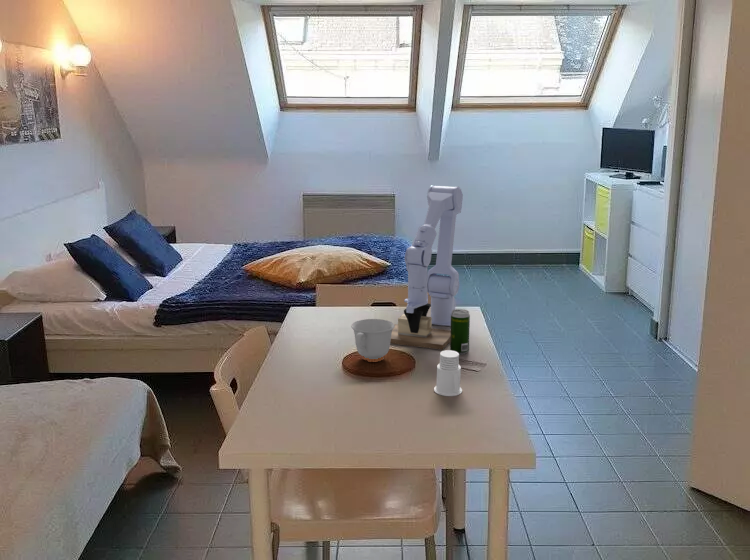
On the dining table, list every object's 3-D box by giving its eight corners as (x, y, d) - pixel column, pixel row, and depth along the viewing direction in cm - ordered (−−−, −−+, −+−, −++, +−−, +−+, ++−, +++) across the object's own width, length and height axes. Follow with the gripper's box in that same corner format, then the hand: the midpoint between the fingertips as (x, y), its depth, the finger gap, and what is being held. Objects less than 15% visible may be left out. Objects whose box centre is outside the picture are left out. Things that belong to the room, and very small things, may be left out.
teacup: (338, 365, 198) (337, 330, 195) (364, 349, 210) (364, 316, 208) (377, 373, 192) (377, 337, 190) (401, 356, 205) (402, 322, 203)
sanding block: (403, 329, 224) (403, 314, 223) (431, 332, 220) (431, 317, 219) (398, 334, 219) (398, 318, 218) (426, 337, 216) (426, 321, 215)
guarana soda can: (472, 352, 208) (473, 311, 205) (459, 356, 205) (460, 315, 202) (459, 347, 212) (460, 307, 209) (446, 351, 209) (446, 311, 206)
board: (394, 328, 230) (394, 324, 229) (455, 335, 223) (455, 330, 222) (378, 341, 217) (378, 337, 217) (442, 349, 210) (442, 344, 210)
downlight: (427, 387, 183) (429, 350, 180) (451, 382, 185) (453, 346, 183) (443, 400, 176) (445, 361, 173) (468, 395, 178) (470, 357, 176)
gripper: (412, 279, 224) (412, 321, 227) (396, 290, 211) (396, 335, 214) (434, 281, 221) (434, 324, 225) (419, 293, 208) (419, 338, 212)
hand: (417, 329), depth 219 cm, fingers closed on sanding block, 5 cm apart
